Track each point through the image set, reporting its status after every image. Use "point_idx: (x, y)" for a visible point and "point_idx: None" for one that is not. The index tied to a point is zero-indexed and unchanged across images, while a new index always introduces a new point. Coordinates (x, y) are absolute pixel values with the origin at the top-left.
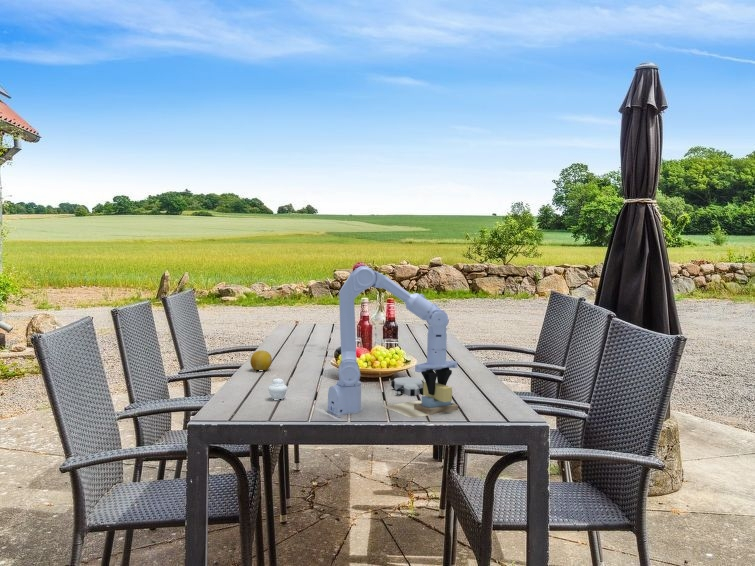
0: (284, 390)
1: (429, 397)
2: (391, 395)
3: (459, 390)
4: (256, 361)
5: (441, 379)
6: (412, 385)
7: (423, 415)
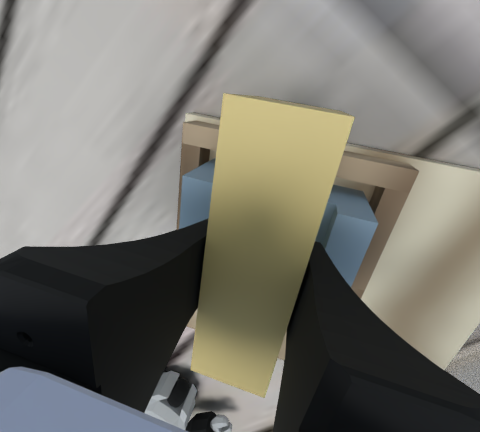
0: None
1: (329, 254)
2: None
3: None
4: None
5: (177, 299)
6: None
7: (452, 175)
